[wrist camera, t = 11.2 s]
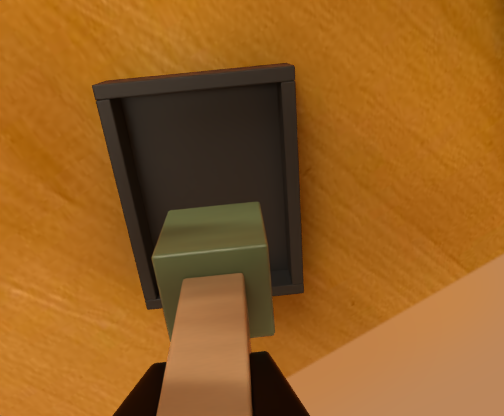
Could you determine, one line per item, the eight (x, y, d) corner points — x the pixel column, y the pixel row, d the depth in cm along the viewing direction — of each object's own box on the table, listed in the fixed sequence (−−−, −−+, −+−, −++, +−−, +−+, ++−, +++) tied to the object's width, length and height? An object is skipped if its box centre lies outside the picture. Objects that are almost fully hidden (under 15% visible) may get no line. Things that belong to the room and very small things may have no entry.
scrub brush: (266, 277, 14) (343, 764, 4) (182, 286, 14) (84, 795, 4) (259, 200, 12) (346, 647, 3) (167, 209, 12) (-11, 690, 3)
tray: (297, 272, 22) (304, 293, 20) (154, 287, 22) (147, 310, 20) (287, 62, 17) (294, 65, 15) (105, 80, 17) (91, 85, 15)
